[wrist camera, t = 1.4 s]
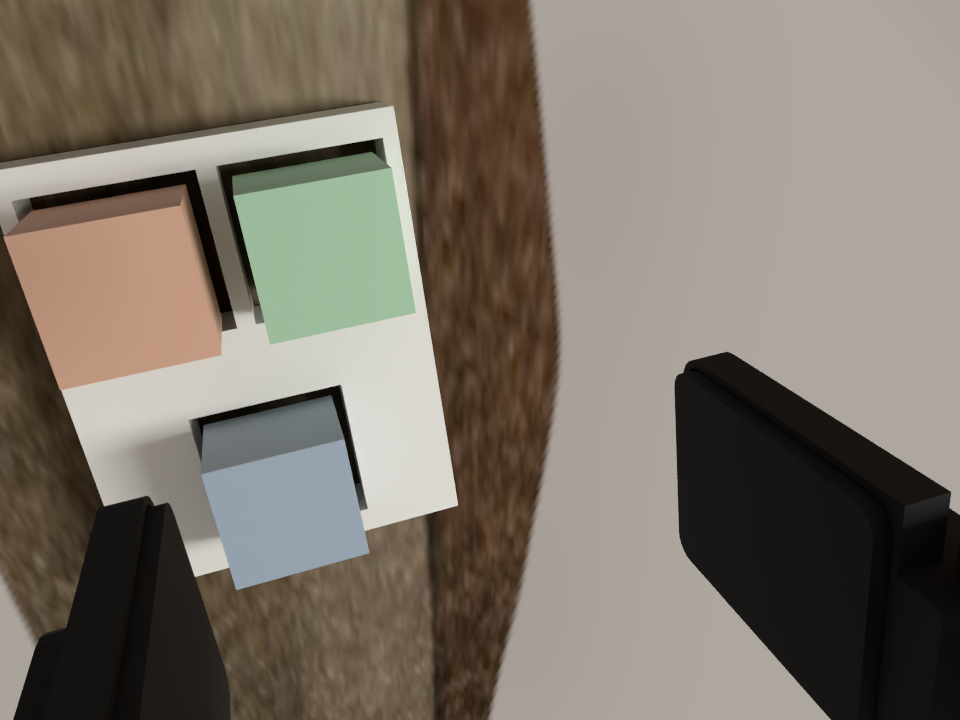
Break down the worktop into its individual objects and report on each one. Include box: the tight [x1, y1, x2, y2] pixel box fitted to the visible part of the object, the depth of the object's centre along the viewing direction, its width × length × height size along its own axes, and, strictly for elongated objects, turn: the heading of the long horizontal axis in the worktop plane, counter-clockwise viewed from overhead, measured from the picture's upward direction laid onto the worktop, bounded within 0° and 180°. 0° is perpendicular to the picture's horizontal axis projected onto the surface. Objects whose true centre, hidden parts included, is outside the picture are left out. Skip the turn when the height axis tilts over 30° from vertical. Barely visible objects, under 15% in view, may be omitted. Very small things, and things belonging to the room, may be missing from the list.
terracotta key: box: [4, 184, 222, 390], centre depth 24 cm, size 4×4×4 cm
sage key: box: [232, 152, 416, 345], centre depth 25 cm, size 4×4×4 cm
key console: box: [0, 101, 458, 577], centre depth 28 cm, size 15×12×2 cm
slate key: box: [201, 395, 369, 590], centre depth 28 cm, size 4×4×4 cm
